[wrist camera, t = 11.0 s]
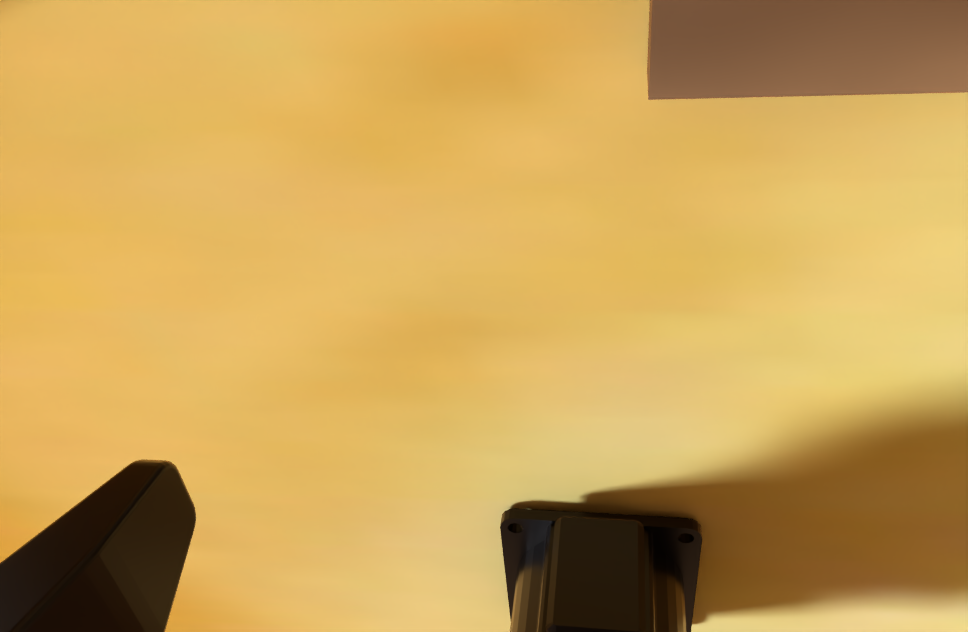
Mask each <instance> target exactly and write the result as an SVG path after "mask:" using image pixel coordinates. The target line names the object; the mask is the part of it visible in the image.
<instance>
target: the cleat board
mask: <svg viewBox="0 0 968 632" xmlns="http://www.w3.org/2000/svg"><path fill="white" fill-rule="evenodd" d="M647 76H648V99H649V100H653V99H696V98H740V97H783V96H826V95H870V94H913V93H957V92H968V0H650V12H649V38H648V65H647Z"/></svg>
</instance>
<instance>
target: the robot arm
mask: <svg viewBox="0 0 968 632" xmlns="http://www.w3.org/2000/svg"><path fill="white" fill-rule="evenodd" d="M195 521H196V513H195V507H194V504H193V502H192V500H191V497H190V495H189V493H188V491H187V489H186V486H185V484H184V482H183V480H182V478H181V476H180V473H179V471H178V469H177V467H176V466H175V465H174V464H173V463H171V462H169V461H162V460H138V461H135V462H133V463H131V464H129V465H128V466H127V467H125V468H124V469H123V470H121V471H120V472H119V473H117V474H116V475H115V476H114V477H112V478H111V479H110V480H108V481H107V482H106V483H104V484H103V485H102V486H100V487H99V488H98V489H96V490H95V491H94V492H93V493H91V494H90V495H89V496H87V497H86V498H85V499H83V500H82V501H81V502H79V503H78V504H77V505H76V506H74V507H73V508H72V509H70V510H69V511H68V512H66V513H65V514H64V515H62V516H61V517H60V518H59V519H57V520H56V521H55V522H53V523H52V524H51V525H49V526H48V527H47V528H45V529H44V530H43V531H41V532H40V533H39V534H38V535H36V536H35V537H34V538H32V539H31V540H30V541H28V542H27V543H26V544H24V545H23V546H22V547H21V548H19V549H18V550H17V551H15V552H14V553H13V554H11V555H10V556H9V557H7V558H6V559H5V560H4V561H2V562H1V563H0V632H165V629H166V625H167V622H168V618H169V615H170V612H171V608H172V605H173V601H174V598H175V594H176V591H177V587H178V584H179V580H180V577H181V573H182V570H183V566H184V563H185V559H186V556H187V552H188V549H189V545H190V542H191V538H192V535H193V531H194V527H195ZM500 529H501V538H502V547H503V556H504V565H505V573H506V582H507V591H508V600H509V609H510V618H511V627H510V632H691V625H692V617H693V609H694V601H695V593H696V584H697V576H698V568H699V560H700V552H701V544H702V533H701V526H700V524H699V523H698V522H697V521H695V520H693V519H688V518H673V517H655V516H637V515H619V514H600V513H582V512H564V511H546V510H528V509H509V510H507V511H505V512H504V513H503V514H502V519H501V526H500Z"/></svg>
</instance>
